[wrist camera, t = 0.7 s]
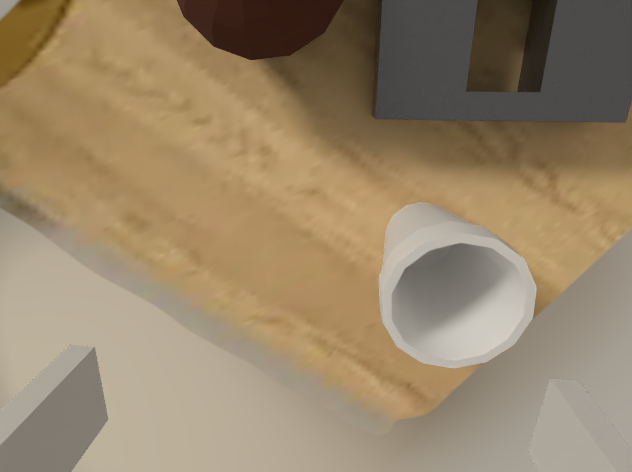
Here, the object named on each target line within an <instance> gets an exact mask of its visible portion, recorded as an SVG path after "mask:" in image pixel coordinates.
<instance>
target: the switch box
mask: <svg viewBox="0 0 632 472" xmlns="http://www.w3.org/2000/svg"><path fill="white" fill-rule="evenodd" d="M477 3H478V0H378V14H377V32H376V51H375V69H374V88H373V106H372V116H373V117H374V118H375V119H407V120H480V121H553V122H626V120H627V116H628V112H629V108H630V104H631V100H632V0H533V3H532V9H531V15H530V21H529V27H528V33H527V39H526V45H525V51H524V57H523V63H522V68H521V74H520V80H519V86H518V92H466V89H467V82H468V74H469V66H470V58H471V50H472V42H473V35H474V27H475V19H476V11H477Z"/></svg>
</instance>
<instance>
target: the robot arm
mask: <svg viewBox="0 0 632 472" xmlns="http://www.w3.org/2000/svg"><path fill="white" fill-rule="evenodd" d="M107 420H108V416H107V411H106V405H105V400H104V395H103V389H102V383H101V378H100V373H99V367H98V362H97V356H96V352H95V347H91V346H76V345H69V346H68V347H67V348H66V349H65V350H64V351H63V352H62V353H61V354H60V355H59V356H57V357H56V358H55V359H54V360H53V361H52V362H51V363H50V364H49V365H48V366H47V367H46V368H45V369H44V370H43V371H42V372H40V373H39V374H38V375H37V376H36V377H35V378H34V379H33V380H32V381H31V382H30V383H29V384H28V385H27V386H26V387H24V388H23V389H22V390H21V391H20V392H19V393H18V394H17V395H16V396H15V397H14V398H13V399H12V400H11V401H10V402H9V403H8V404H7V405H5V406H4V407H3V408H2V409H1V410H0V472H71V471H72V470H73V468H74V467H75V465H76V464H77V463H78V461H79V460H80V459H81V457H82V456H83V454H84V453H85V451H86V450H87V449H88V447H89V446H90V444H91V443H92V441H93V440H94V439H95V437H96V436H97V435H98V433H99V432H100V430H101V429H102V427H103V426H104V425H105V423H106V422H107ZM529 455H530V456H531V458H532V460H533V462H534V464H535V466H536V468H537V470H538V472H632V447H631V446H630V445H629V443H627V441H626V440H625V438H624V437H623V436H622V435H621V434H620V432H619V431H618V430H617V429H616V427H615V426H614V425H613V424H612V422H611V421H610V420H609V418H608V417H607V416H606V415H605V414H604V412H603V411H602V410H601V409H600V407H599V406H598V405H597V404H596V403H595V401H594V400H593V399H592V397H591V396H590V395H589V394H588V392H587V391H586V390H585V389H584V387H583V386H582V385H581V384H580V383H579V381H578V380H567V379H552V378H550V379H549V383H548V386H547V389H546V393H545V396H544V400H543V403H542V407H541V410H540V413H539V417H538V420H537V424H536V427H535V431H534V434H533V438H532V441H531V444H530V448H529Z"/></svg>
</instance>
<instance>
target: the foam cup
mask: <svg viewBox="0 0 632 472" xmlns="http://www.w3.org/2000/svg"><path fill="white" fill-rule="evenodd" d="M536 291H537V287H536V284H535V282H534V280H533V277H532V275H531V273H530V271H529V268H528V266H527V264H526V261H525V259H524V258H523V257H522V256H521V255H520V254H519V253H517V252H516V251H515V250H514V249H513V248H512V247H511V246H510V245H509V244H507V243H506V242H505V241H503V240H502V239H501V238H499V237H498V236H496V235H495V234H494V233H492V232H491V231H490V230H488V229H487V228H486V227H484V226H478V225H474V224H472V223H470V222H468V221H466V220H465V219H463V218H461V217H459V216H457V215H455V214H453V213H452V212H450V211H448V210H446V209H444V208H442V207H440V206H439V205H436V204H431V203H425V202H418V203H414V204H410V205H406V206H404V207H403V208H402V209H400V210H399V211H398V212H397V213H396V214H394V215H393V216H392V218H391V220H390V222H389V224H388V226H387V228H386V234H385V245H384V256H383V268H382V271H381V273H380V275H379V305H380V310H381V316H382V322H383V324H384V325H385V327H386V329H387V330H388V332H389V334H390V336H391V337H392V339H393V341H394V342H395V344H396V346H397V347H398V348H400V349H401V350H403V351H404V352H406V353H407V354H409V355H411V356H412V357H414V358H415V359H417V360H418V361H420V362H421V363H424V364H430V365H436V366H442V367H448V368H453V369H454V368H459V367H464V366H469V365H474V364H479V363H484V362H487V361H489V360H491V359H492V358H494V357H495V356H497V355H498V354H500V353H502V352H503V351H505V350H507V349H508V348H510V347H511V346H513V345H514V344H515V343H516V342H517V340H518V339H519V337H520V336H521V335H522V333H523V332H524V330H525V329H526V327H527V326H528V324H529V323H530V322H531V320H532V319H533V314H534V306H535V298H536Z"/></svg>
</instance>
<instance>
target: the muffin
mask: <svg viewBox="0 0 632 472" xmlns="http://www.w3.org/2000/svg"><path fill="white" fill-rule="evenodd" d="M177 1H178V4H179V6H180V9H181V11H182V14H183V16H184V17H185V18H186V19H187V20H188V21H189V22H190V23H191V24H192V25H193V26H194V27H195V28H196V29H197V30H198V31H199V32H200V33H201V34H202V35H203V36H204V37H205V38H206V39H207V40H208V41H209V42H210V43H211V44H212V45H213V46H214V47H217V48H219V49H222V50H225V51H228V52H230V53H233V54H236V55H238V56H241V57H244V58H247V59H249V60H256V59H264V58H272V57H281V56H289V55H291V54H293V53H294V52H296V51H297V50H299V49H300V48H302V47H303V46H305V45H306V44H308V43H309V42H311V41H312V40H314V39H315V38H317V37H318V36H320V35H321V34H323V33H324V32H325V30H326V28H327V27H328V25H329V24H330V22H331V20H332V19H333V17H334V15H335V14H336V12H337V10H338V9H339V7H340V5H341V4H342V2H343V0H177Z"/></svg>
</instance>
